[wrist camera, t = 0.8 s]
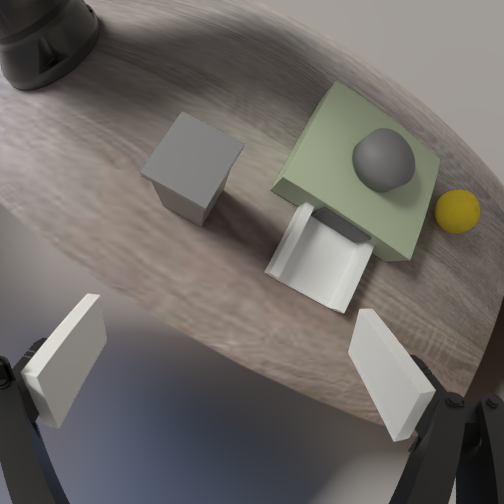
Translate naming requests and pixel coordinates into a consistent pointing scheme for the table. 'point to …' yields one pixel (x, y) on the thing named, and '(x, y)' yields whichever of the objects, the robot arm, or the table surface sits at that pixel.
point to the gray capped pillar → (191, 167)
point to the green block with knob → (350, 197)
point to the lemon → (457, 211)
